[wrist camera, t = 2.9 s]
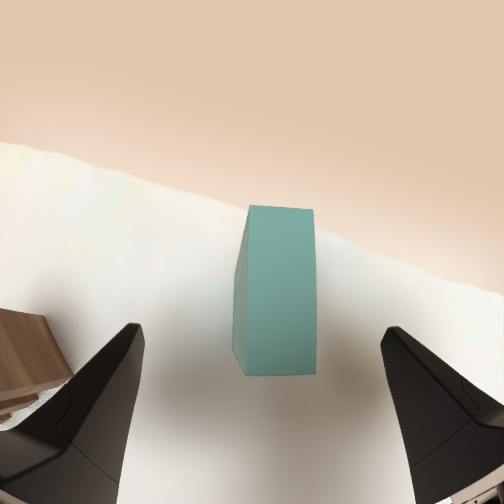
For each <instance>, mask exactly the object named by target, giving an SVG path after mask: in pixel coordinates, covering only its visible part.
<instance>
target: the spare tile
mask: <svg viewBox="0 0 504 504" xmlns="http://www.w3.org/2000/svg"><path fill="white" fill-rule="evenodd" d="M233 352H234V354H235V356H236V358H237V360H238V362H239V364H240V366H241V368H242V370H243V372H244V374H245V376H287V375H311V374H316V259H315V234H314V214H313V210H311V209H299V208H285V207H272V206H256V205H250V207H249V211H248V216H247V220H246V225H245V229H244V234H243V239H242V243H241V248H240V252H239V257H238V262H237V266H236V271H235V283H234V314H233Z"/></svg>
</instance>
